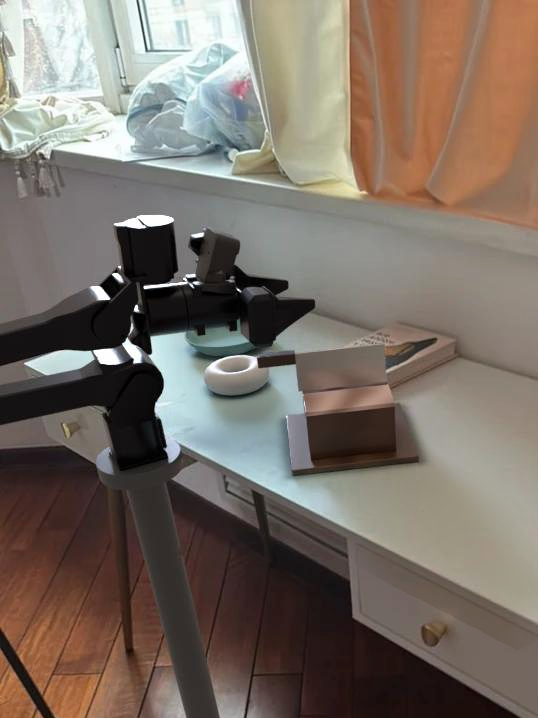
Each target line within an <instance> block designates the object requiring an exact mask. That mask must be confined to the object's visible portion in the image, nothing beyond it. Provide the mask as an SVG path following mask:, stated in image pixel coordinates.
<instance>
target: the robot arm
mask: <svg viewBox="0 0 538 718" xmlns="http://www.w3.org/2000/svg"><path fill="white" fill-rule="evenodd" d="M112 228H113V234H114V238H115V242H116V244H117V252H118V258H119V265H117V266H116V267H115V268H114V269H113V270H112V271H111V272H110V273H108V275H107V276H106V277H105V278H104V279H103V280H102V281H101V282H100V283H99V284H98V285H96V286H95V285H94V286H89V287H87V288H85V289H82V290H80V291H78V292H76V293H74V294H72V295H69V296H68V297H65V298H63V299H62V300H61V301H59V302H57V303H56V304H55V305H53V306H51V308H49V309H46V310H45V311H43V312H39V313H36V314H31V315H29V316H24V317H21V318H17V319H13V320H10V321H5V322H2V323H0V367H3V366H6V365H9V364H13V363H17V362H21V361H24V360H29V359H32V358H35V357H40V356H42V355H43V356H44V355H46V354H50V353H53V352H60V351H62V352H63V351H72V352H73V351H75V352H91V354H92V356H93V360H91V361H89V362H88V363H87V364H85V365H84V366H82V367H79V368H75V369H71V370H67V371H62V372H56V373H51V374H47V375H42V376H37V377H33V378H28V379H22V380H17V381H13V382H8V383H2V384H0V426H4V425H8V424H14V423H18V422H22V421H26V420H27V421H28V420H31V419H36V418H41V417H45V416H50V415H55V414H60V413H64V412H69V411H73V410H77V409H78V410H79V409H82V408H87V407H101V408H103V410H104V411H105V412H103V413H101V414H100V416H101V419H102V423H103V427H104V430H105V434H106V438H107V441H108V445H109V446H110V449H109V450H108V451H109V454H110V455H111V457H112V459H113V460H114V462H115V464H116V465H117V467H118V468H119V470H120V471H125V470H129V469H132V468H136V467H139V466H143V465H146V464H150V463H153V462H157V461H160V460H164V459H167V458H168V454H167V452H166V451H165V450H164V449H165V448H167V443H166V439H165V437H166V434H165V430H164V425H163V421H162V419H161V417H160V416H159V415H158V414H157V413H156V404H157V403H158V401H159V399H160V397H161V396H162V395H163V391H164V388H165V379H164V376H163V374H162V373H163V372H161V371H160V369H159V368H158V366H157V365H156V364H155V362H154V361H153V360H152V358H151V357H150V356H151V355H152V354H153V345H152V337H158V336H159V337H160V336H166V335H167V336H168V335H175V334H183V333H184V334H185V332H192V331H194V333H195V334H196V335H197V336H202V335H206V333H205V330H207V329H215V328H223V327H225V328H226V329H227V330H229V331H230V332H232V331H238V330H237V320H239V318H240V332H241V334H242V335H243V336H244V337H245V338H246V339H247V340H248V341H249V342H250V343H252V344H253V345H254V346H255V347H256V348H255V349H262V348H269V347H272V346H273V344H274V342H276V340H277V337H278V336H279V335H281V334H282V333H283V332H284V331H286V330H287V329H288V328H289V327H291V326H292V325H294V324H295V323H296V322H297V321H299V320H300V319H302V318H303V317H305V316H306V315H308V314H310V312H312V311H313V310H314V309H315V308H316V300H315V299H314V298H310V297H308V298H307V297H293V296H291V297H289V296H278V295H279V294H282V293H283V292H285V291H287V290H289V285H290V284H289V280H287V279H283V278H277V277H269V276H263V275H258V274H257V275H256V274H250V273H247V272H244V271H243V270H242V269H241V268H240V267H239V266H238V265H237V264H236V259H237V256H238V255H239V254H240V250H241V241H240V239H238V238H236V237H234V236H233V234H230V233H227V232H223V231H220V230H217V229H215V228H213V227H206V228H202V232H199V233H195V234H190V236H189V240H188V244H187V248H188V249H189V250H190V251H191V252H192V253H193V254H194V255H195V256H197V258H196V259H195V261H194V262H195V264H196V269H195V273H192V274H186V275H185V277H182V282H177V283H170V282H171V281H172V280H174V279H175V274H177V273H178V272H179V261H178V250H177V239H176V231H175V221H174V218H173V217H170V216H167V215H158V214H157V215H156V214H155V215H153V214H150V215H148V214H147V215H138V216H137V217H136V218H135V217H134V218H131V219H127V220H125V221H123V222H118V223H114V224H112ZM168 283H169V284H168ZM131 329H132V330H131ZM127 340H128V341H129V343H130V344H131V345H125V344H124V343H126V342H127ZM109 446H108V447H109Z"/></svg>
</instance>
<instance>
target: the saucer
mask: <svg viewBox="0 0 538 718" xmlns="http://www.w3.org/2000/svg"><path fill="white" fill-rule="evenodd" d="M237 330H238V331H232V332H230V331H229V330H227V329H226V328H225V327H223V328H215V329H207V330H205V333H206V335H202V336H197V335H196V334H195V333H194V331H192V332H184V335H183V336H184V340H185V341H186V342H187V343H188V344H189V345H190V346H191V347H192V348H194V349H195V350H196V351H198V352H200V353H201V354H203V355H207V356H211V357H230V356H238V355H243V354H246V353H248V352H250V351H254V350H255V349H257V348H256V347H255V346H254V345H253V344H252V343H250V342H249V341H248V340H247V339H246V338H245V337H244V336H243V335H242V334H241V332H240V318H239V320H237Z"/></svg>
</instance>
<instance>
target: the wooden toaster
mask: <svg viewBox="0 0 538 718" xmlns="http://www.w3.org/2000/svg"><path fill="white" fill-rule="evenodd" d="M386 381H387V382H381V383H372V384H363V385H354V386H344V387H335V388H326V389H317V390H308V391H301V395H302V404H303V405H302V406H303V413H295V414H287V415H286V425H287V434H288V435H287V436H288V446H289V457H290V467H291V475H292V476H302V475H311V474H321V473H328V472H336V471H337V472H338V471H344V470H345V471H346V470H353V469H354V470H355V469H363V468H372V467H373V468H374V467H381V466H390V465H398V464H399V465H400V464H407V463H415V462H416V463H417V462H419V461H420V459H419V457H420V455H419V453H418V450H417V447H416V445H415V443H414V439H413V436H412V434H411V431H410V430H411V429H410V428H409V425H408V422H407V420H406V416H405V414H404V410H403V408H402V404H401V403H400V402H395V400H394V397H393V394H392V393H393V392H392V390H391V388H390V385H389V384H388V383H389V382H388V379H387V378H386Z"/></svg>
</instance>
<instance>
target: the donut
mask: <svg viewBox="0 0 538 718" xmlns="http://www.w3.org/2000/svg"><path fill="white" fill-rule="evenodd" d="M269 378H270V367H268V368H258V363H257V356H252V355H246V354H245V355H244V354H238V355H233V356H224V357H223V358H219V359H217V360H216V361H213V362H211V364H209V365H208V367H206V369H205V371H204V374H203V381H204V384H205V386H206V387H207V388H208V389H209V390H210V391H211V392H212V393H214V394H217V395H221V396H232V397H233V396H242V395H247V394H250V393H252V392H255V391H258V390H260V389H261V388H262V387H263V386H265V384H266V383H267V382H268V381H269Z"/></svg>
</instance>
